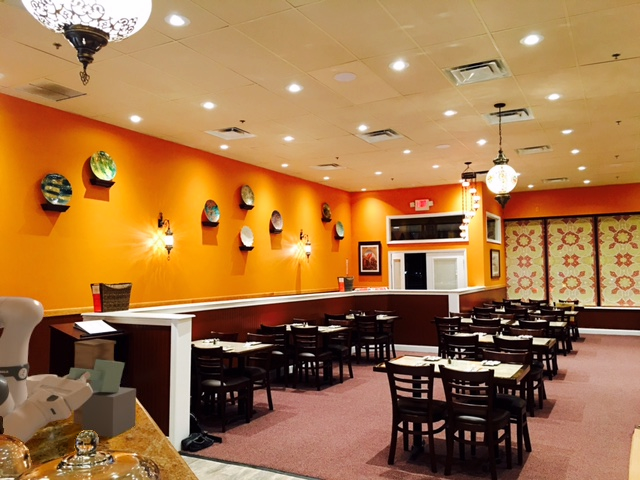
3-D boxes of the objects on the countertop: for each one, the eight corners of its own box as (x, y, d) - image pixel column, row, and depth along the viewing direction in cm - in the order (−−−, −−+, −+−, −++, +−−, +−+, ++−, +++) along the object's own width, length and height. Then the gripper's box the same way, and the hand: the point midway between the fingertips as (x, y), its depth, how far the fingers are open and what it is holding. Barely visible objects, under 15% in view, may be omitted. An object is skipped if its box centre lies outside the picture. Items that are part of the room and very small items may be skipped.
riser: (81, 434, 161) (82, 394, 161) (106, 423, 171) (106, 386, 172) (112, 437, 158) (113, 397, 158) (135, 426, 168) (136, 388, 169)
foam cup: (49, 410, 186) (50, 373, 186) (61, 415, 180) (62, 377, 180) (20, 416, 179) (21, 377, 179) (31, 422, 172) (32, 381, 173)
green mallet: (74, 390, 151) (82, 358, 153) (62, 387, 154) (70, 356, 157) (122, 392, 165) (128, 363, 167) (109, 390, 168) (116, 361, 170)
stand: (91, 427, 167) (93, 344, 168) (72, 422, 172) (74, 342, 173) (114, 420, 175) (116, 341, 176) (95, 415, 180) (97, 338, 181)
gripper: (28, 408, 153) (67, 376, 164) (71, 419, 142) (110, 385, 153) (18, 391, 151) (58, 360, 161) (60, 401, 140) (100, 367, 150)
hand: (83, 372), depth 157 cm, fingers closed on green mallet, 3 cm apart
